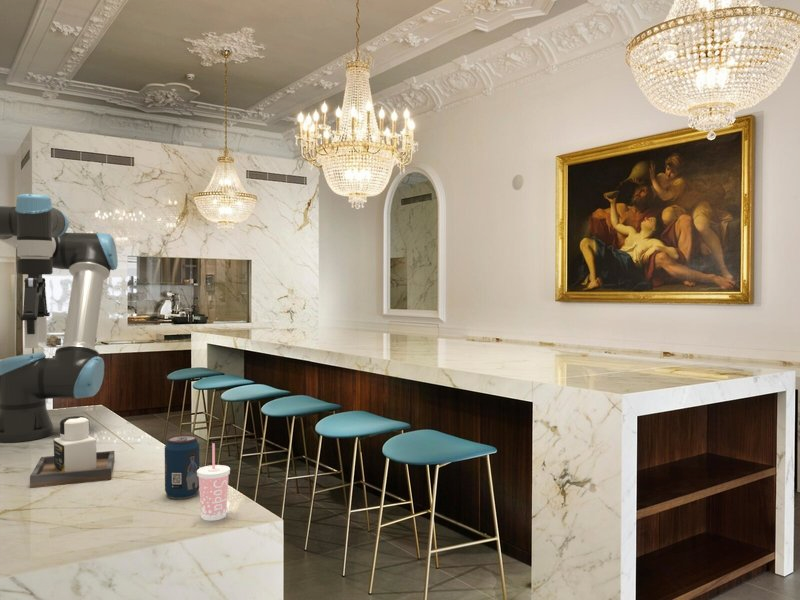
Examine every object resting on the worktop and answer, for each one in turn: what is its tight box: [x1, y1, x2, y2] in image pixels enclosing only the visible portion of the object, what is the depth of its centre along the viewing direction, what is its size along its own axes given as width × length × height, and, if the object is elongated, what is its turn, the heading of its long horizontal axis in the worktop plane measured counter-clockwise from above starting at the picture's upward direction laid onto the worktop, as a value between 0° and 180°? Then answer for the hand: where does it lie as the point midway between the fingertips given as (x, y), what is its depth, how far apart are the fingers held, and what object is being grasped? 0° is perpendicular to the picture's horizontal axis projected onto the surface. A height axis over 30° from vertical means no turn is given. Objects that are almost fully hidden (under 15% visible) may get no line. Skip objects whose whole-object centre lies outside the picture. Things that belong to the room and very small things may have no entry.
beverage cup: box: [197, 442, 231, 521], centre depth 124 cm, size 6×6×14 cm
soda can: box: [164, 434, 201, 500], centre depth 136 cm, size 7×7×12 cm
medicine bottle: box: [53, 415, 97, 472], centre depth 150 cm, size 7×7×12 cm
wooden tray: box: [29, 450, 116, 489], centre depth 150 cm, size 16×16×2 cm
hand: (36, 345), depth 159 cm, fingers open, 13 cm apart
